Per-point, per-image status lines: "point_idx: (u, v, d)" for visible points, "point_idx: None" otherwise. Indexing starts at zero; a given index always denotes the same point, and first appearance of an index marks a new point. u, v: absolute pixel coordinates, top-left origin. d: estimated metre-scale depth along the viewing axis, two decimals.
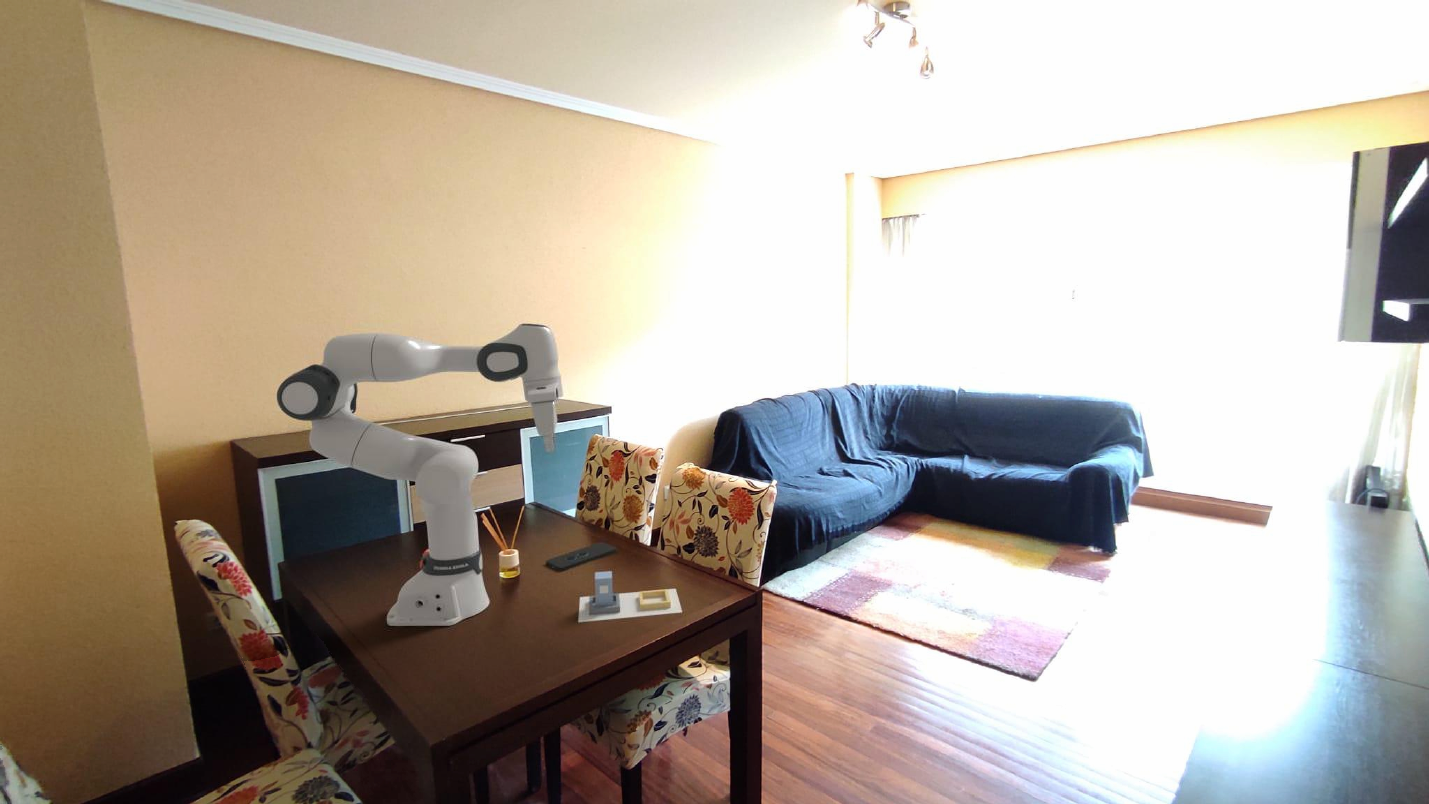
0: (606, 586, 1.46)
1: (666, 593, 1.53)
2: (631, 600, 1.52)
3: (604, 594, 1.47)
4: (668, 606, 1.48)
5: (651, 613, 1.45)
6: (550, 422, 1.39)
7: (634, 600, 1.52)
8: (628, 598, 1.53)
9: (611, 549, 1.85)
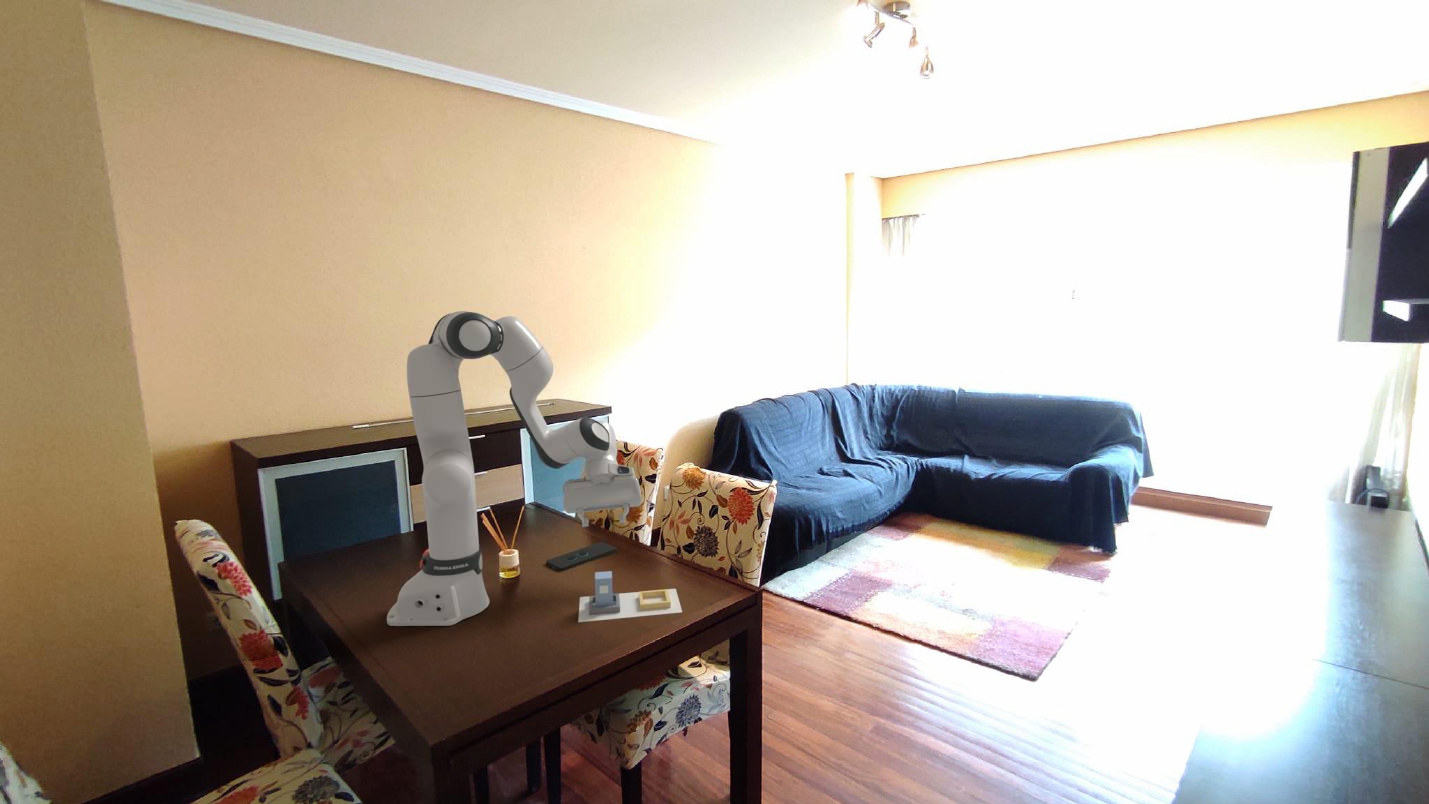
0: (606, 586, 1.46)
1: (666, 593, 1.53)
2: (631, 600, 1.52)
3: (604, 594, 1.47)
4: (668, 606, 1.48)
5: (651, 613, 1.45)
6: None
7: (634, 600, 1.52)
8: (628, 598, 1.53)
9: (611, 549, 1.85)
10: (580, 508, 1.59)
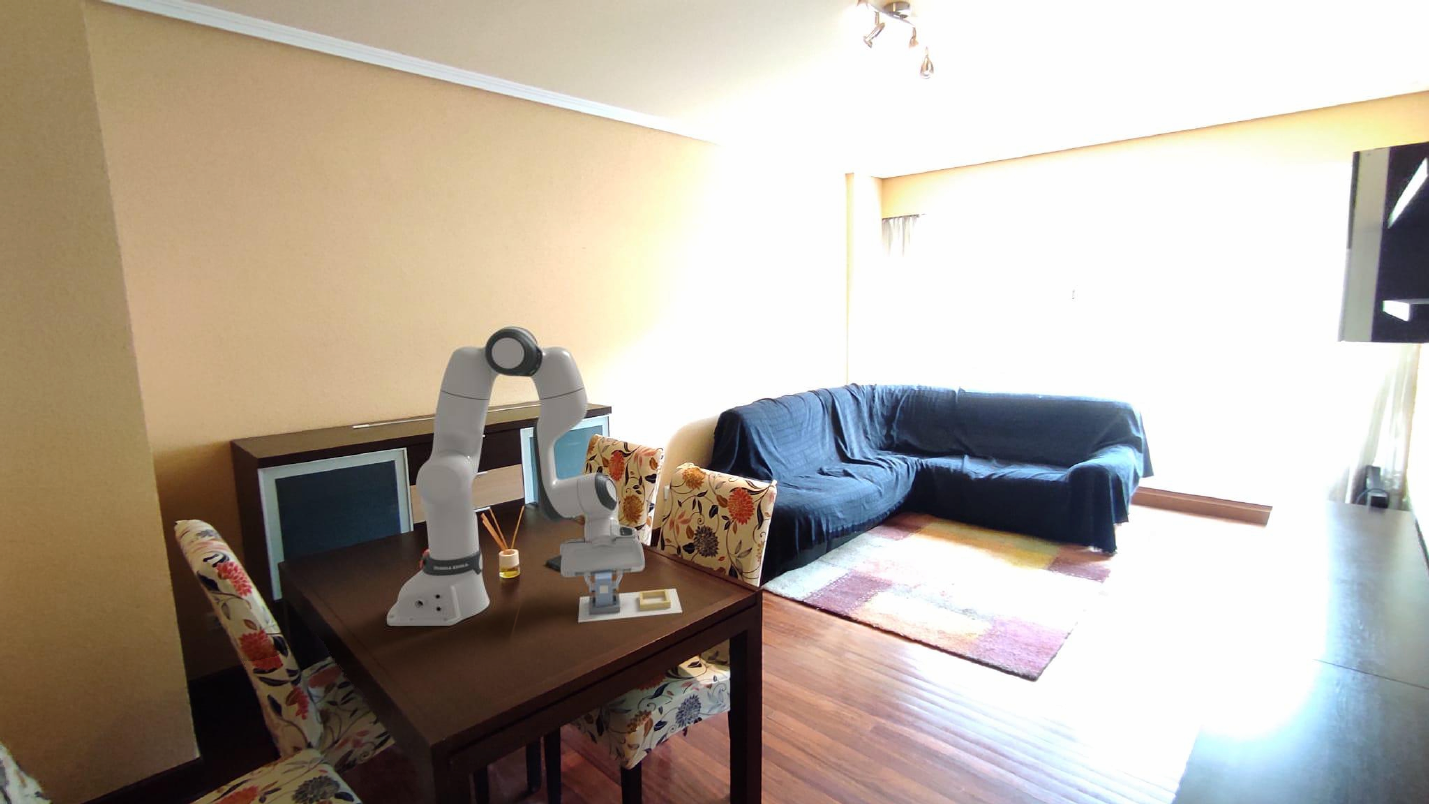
0: (606, 586, 1.46)
1: (666, 593, 1.53)
2: (631, 600, 1.52)
3: (604, 594, 1.47)
4: (668, 606, 1.48)
5: (651, 613, 1.45)
6: None
7: (634, 600, 1.52)
8: (628, 598, 1.53)
9: None
10: (587, 572, 1.49)
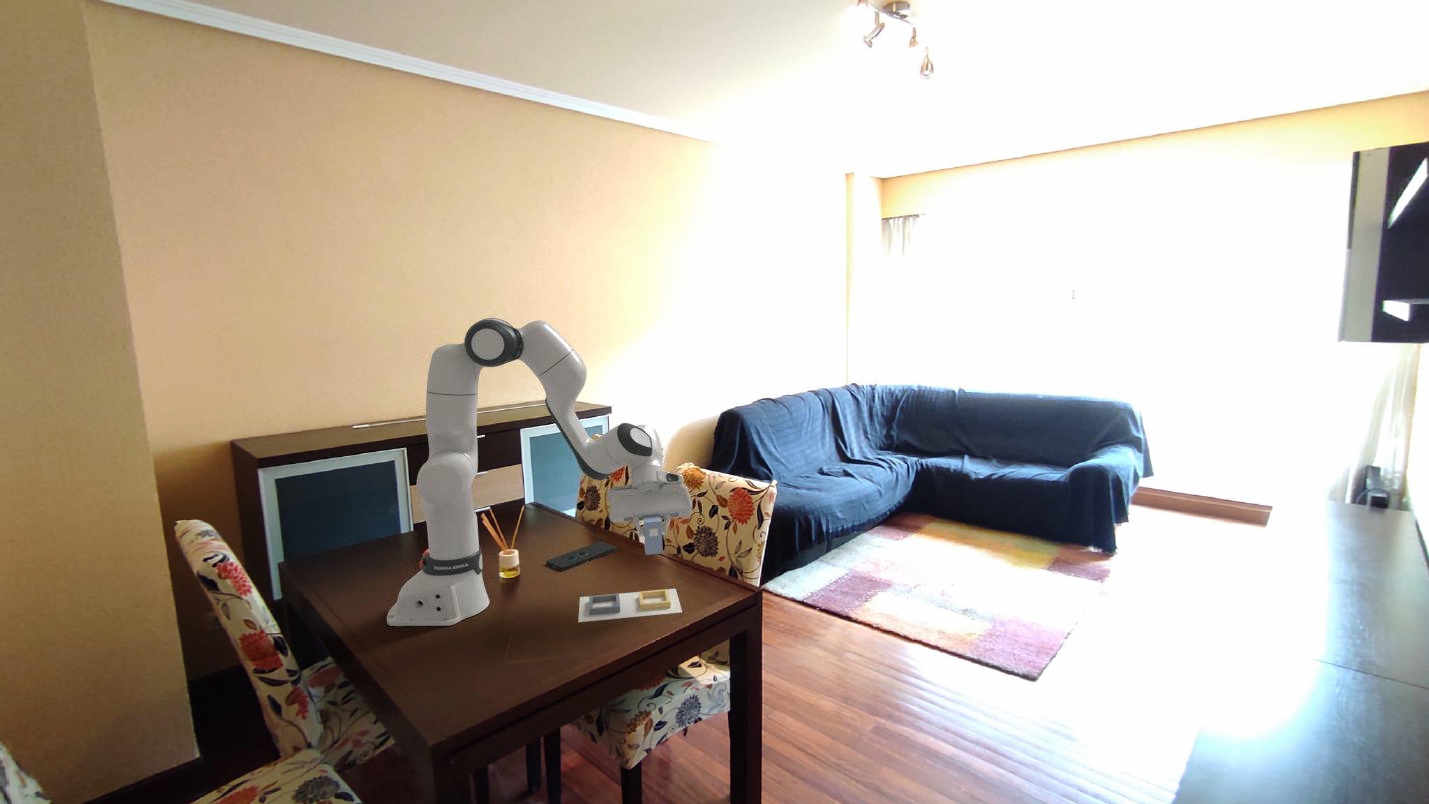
0: (656, 529, 1.46)
1: (666, 593, 1.53)
2: (631, 600, 1.52)
3: (654, 537, 1.47)
4: (668, 606, 1.48)
5: (651, 613, 1.45)
6: None
7: (634, 600, 1.52)
8: (628, 598, 1.53)
9: (610, 548, 1.85)
10: (636, 516, 1.49)
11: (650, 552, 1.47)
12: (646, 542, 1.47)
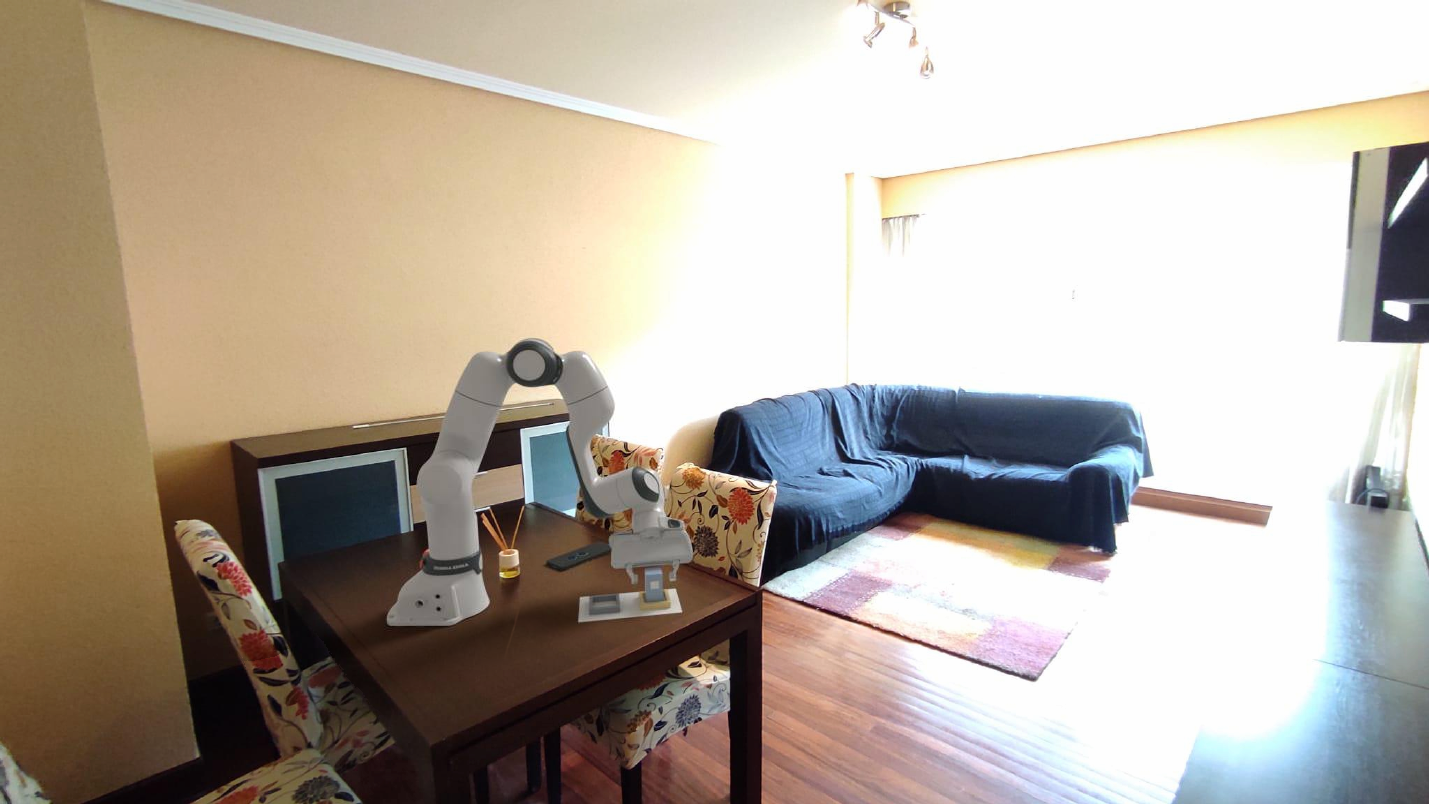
0: (657, 582, 1.48)
1: (666, 593, 1.53)
2: (631, 600, 1.52)
3: (654, 590, 1.49)
4: (668, 606, 1.48)
5: (651, 613, 1.45)
6: None
7: (634, 600, 1.52)
8: (628, 598, 1.53)
9: (610, 548, 1.86)
10: (629, 564, 1.51)
11: None
12: (647, 594, 1.49)
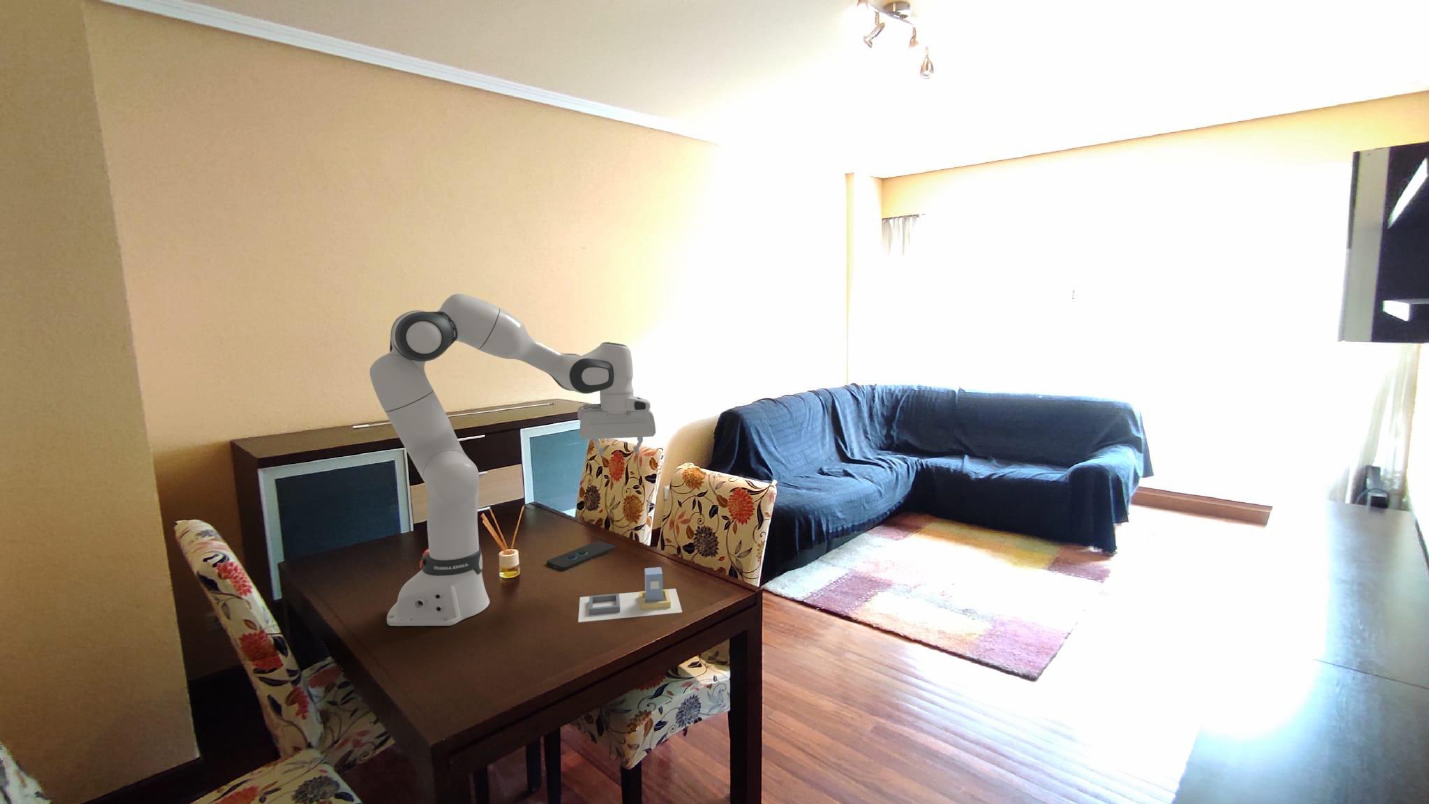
0: (657, 582, 1.48)
1: (666, 593, 1.53)
2: (631, 600, 1.52)
3: (654, 590, 1.49)
4: (668, 606, 1.48)
5: (651, 613, 1.45)
6: None
7: (634, 600, 1.52)
8: (628, 598, 1.53)
9: (609, 547, 1.86)
10: (596, 439, 1.64)
11: None
12: (647, 594, 1.49)
